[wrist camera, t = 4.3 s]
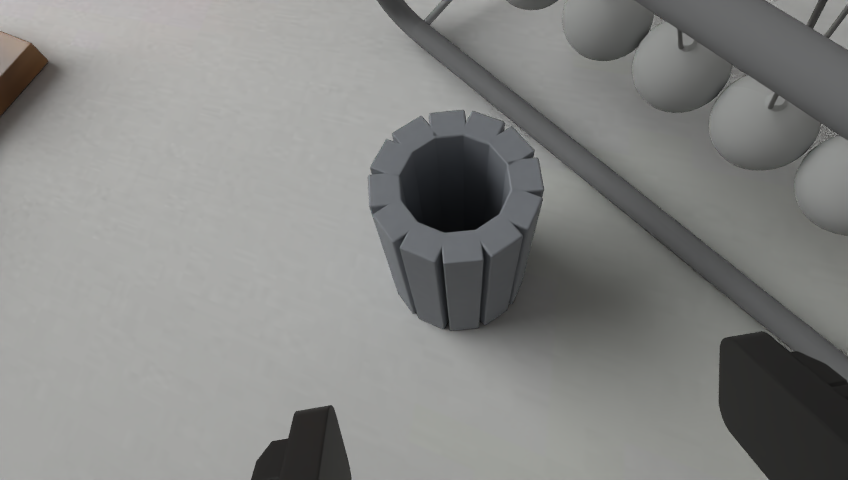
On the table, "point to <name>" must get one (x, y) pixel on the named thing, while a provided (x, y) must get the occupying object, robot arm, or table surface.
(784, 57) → the newton's cradle
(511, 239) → the grooved hollow cylinder
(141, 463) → the table surface
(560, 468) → the table surface
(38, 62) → the peg rack
